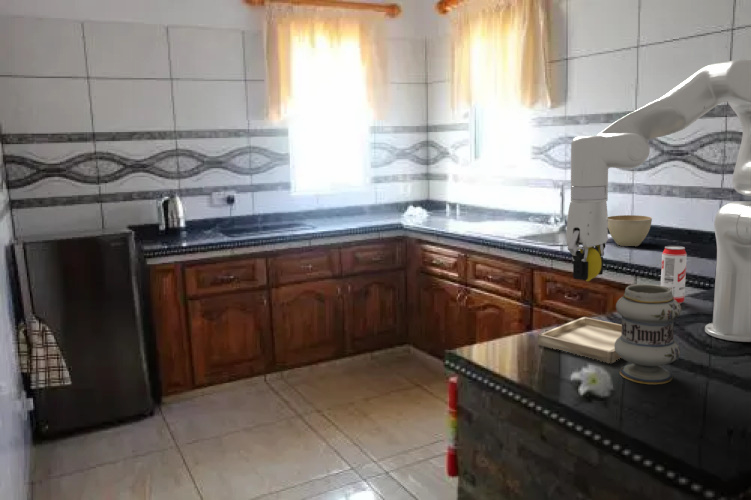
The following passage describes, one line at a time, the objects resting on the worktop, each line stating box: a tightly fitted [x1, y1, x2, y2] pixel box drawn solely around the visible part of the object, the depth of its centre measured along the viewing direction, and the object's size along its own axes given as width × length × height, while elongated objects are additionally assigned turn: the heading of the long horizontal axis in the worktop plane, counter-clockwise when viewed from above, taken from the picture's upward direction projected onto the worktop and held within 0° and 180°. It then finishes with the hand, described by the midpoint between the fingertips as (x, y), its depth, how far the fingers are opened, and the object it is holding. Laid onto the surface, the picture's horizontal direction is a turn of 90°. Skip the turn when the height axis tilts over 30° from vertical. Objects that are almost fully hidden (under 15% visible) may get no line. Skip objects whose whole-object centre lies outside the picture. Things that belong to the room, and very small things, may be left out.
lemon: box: [579, 247, 602, 282], centre depth 136 cm, size 6×6×8 cm
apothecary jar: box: [614, 283, 682, 385], centre depth 123 cm, size 12×12×18 cm
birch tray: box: [537, 316, 622, 364], centre depth 144 cm, size 20×18×2 cm
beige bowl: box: [608, 214, 653, 247], centre depth 268 cm, size 18×18×12 cm
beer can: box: [660, 245, 688, 305], centre depth 176 cm, size 6×6×16 cm
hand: (588, 275), depth 136 cm, fingers closed on lemon, 5 cm apart
